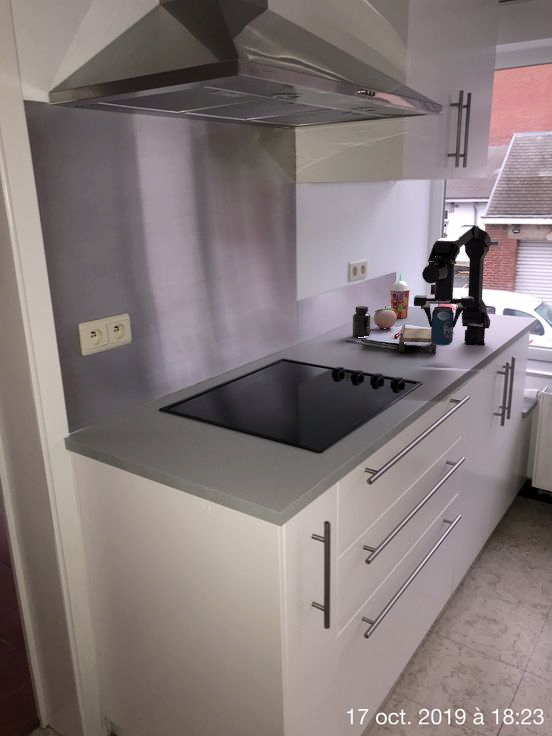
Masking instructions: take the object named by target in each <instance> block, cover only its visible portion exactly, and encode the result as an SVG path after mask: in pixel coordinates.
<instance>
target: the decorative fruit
mask: <svg viewBox="0 0 552 736" xmlns="http://www.w3.org/2000/svg"><path fill="white" fill-rule="evenodd" d="M393 310H394V309H392V308H391V307H388V308H387V306H386V305H385V308H377V309H375V311H374V315H373V321H374V323H375V324H374V325H376V326H377V327H378V328H379V329H381V328H388V329H390V328H392V327H394V325H395V324H396V322H397V319H396V318H397V316H396V314H395V312H394V311H395V310H394V311H393Z"/></svg>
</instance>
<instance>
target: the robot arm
mask: <svg viewBox="0 0 552 736" xmlns="http://www.w3.org/2000/svg"><path fill="white" fill-rule="evenodd" d="M491 245H492V239H491V236H490V235H489V233H488V232H487V231H485V230H483V229H482V228H480V227H479V225H477V224H476V223H475V224H474V223H473V224H470V223H469V224H468V223H467V224H463V225H461V227H460V228H459V229H458V230H456V231H455V232H453V233H452V234H451V235H450V236H447V237H442V238H439V239H436V241H435V242H434V243H433V245H432V248H431V251H430V254H429V256H428V259H427V262H428V264H427V265H426V266H425V267H424V268H423V270H422V271H421V272H422V273H421V276H422V280H424V281H425V283H428V284H430V295H431V296H433V295H434V297H427V296H428V295H426V294H425V295H424V294H423V295H422V294H420V295H419V294H418V295H415V296H414V297H413V307H420V309H421V310H423V311H424V313H425V314H426V318H427V321H428V324H429V327H430V328H431V327H432V312H431V309H432V308H431V305H432V304H433V305H455V311H454V322H453V329H454V328H455V327H456V325H457V323H458V320H459V318H460V315H461V323H462V327H466V329H465V330H464V343H465V345H471V346H472V345H474V346H476V345H478V346H485V345H486V342H485V335H486V329H490V325H491V319H490V317H489V314H488V312H487V310H488V309H487V305H486V304H485V303H486V302H485V301H484V300H483V291H484V290H483V289H484V288H483V285H484V284H483V283H484V260H485V258H486V256H487V255H488V254H489V252H490V246H491ZM463 246H464V253H465V254H466V256H467V258H468V259H469V264H468V265H469V266H468V267H469V269H468V289H467V290H468V295H460V298H454V283H455V281H454V280H455V265H456V264H457V261H456V259H457V258H458V255H459V254H460V253H461V252H460V251H461V248H462V247H463Z"/></svg>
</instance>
